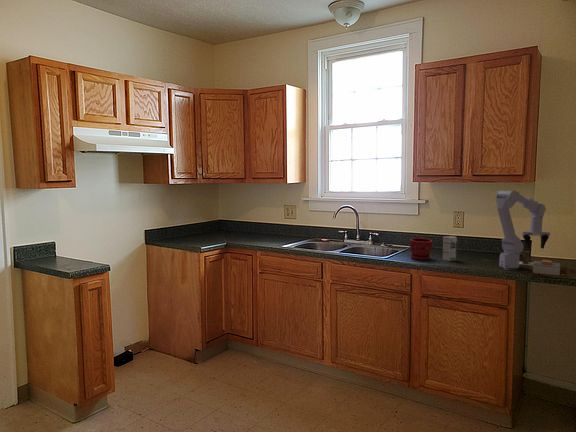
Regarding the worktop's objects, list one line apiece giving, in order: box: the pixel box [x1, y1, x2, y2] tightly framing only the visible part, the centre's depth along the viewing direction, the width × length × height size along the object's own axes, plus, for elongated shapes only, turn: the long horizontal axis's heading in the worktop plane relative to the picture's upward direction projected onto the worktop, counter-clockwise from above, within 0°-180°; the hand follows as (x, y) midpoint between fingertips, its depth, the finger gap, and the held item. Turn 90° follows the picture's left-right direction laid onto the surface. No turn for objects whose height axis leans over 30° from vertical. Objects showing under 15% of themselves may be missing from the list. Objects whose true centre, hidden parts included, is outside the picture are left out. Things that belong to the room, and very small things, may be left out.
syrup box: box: [442, 235, 458, 262], centre depth 267 cm, size 6×6×14 cm
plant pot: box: [409, 237, 433, 261], centre depth 272 cm, size 13×13×12 cm
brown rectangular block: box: [521, 250, 530, 265], centre depth 253 cm, size 3×3×7 cm
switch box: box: [532, 260, 561, 276], centre depth 235 cm, size 12×12×4 cm
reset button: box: [541, 259, 553, 265], centre depth 235 cm, size 4×4×3 cm
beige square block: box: [519, 260, 534, 266], centre depth 253 cm, size 9×9×1 cm
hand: (535, 248), depth 250 cm, fingers open, 7 cm apart
